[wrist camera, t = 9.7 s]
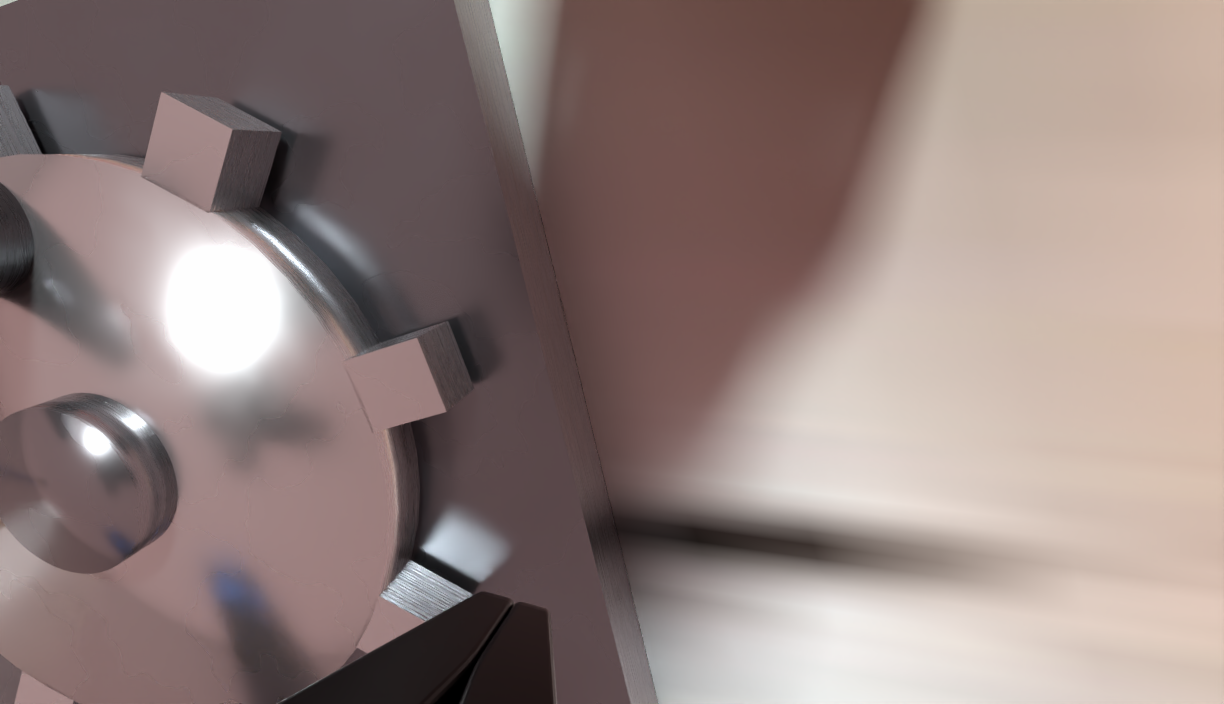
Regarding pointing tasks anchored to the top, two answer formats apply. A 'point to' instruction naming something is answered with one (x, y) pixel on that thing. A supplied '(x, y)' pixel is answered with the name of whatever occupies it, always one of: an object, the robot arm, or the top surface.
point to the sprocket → (196, 429)
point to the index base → (390, 258)
